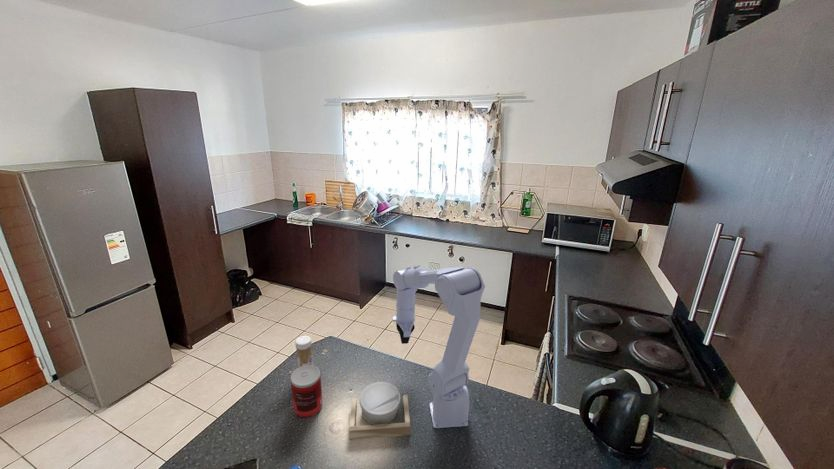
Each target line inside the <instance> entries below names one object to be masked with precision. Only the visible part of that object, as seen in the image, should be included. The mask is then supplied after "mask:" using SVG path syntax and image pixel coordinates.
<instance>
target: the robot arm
mask: <svg viewBox="0 0 834 469" xmlns="http://www.w3.org/2000/svg"><path fill="white" fill-rule="evenodd" d="M392 280H393V285H394V287H395V288H396V307H395V308H396V309H395V310H396V312H395V314H396V315H394V316H392V322H393V323H394V322H395V324H396V330H397V332H398V333H399V337H400V342H401V344H402V345H403V344H405V345H407V344H409V341H410V338H411V335H412V333H413V332H414V330H415V329H416V328H415V322H416V317H415V315H416V310H415V309H416V308H415V307H416V292H417V291H418V289H426V288H427V287H428V286H429V285H430V284H431V285H432V284H433V285H434V289H435V291H436V292H437V295H438V296H439V298H440V300H441V302H442V304H443V305H444V307H445V308H446V311H447V313H448V314H449V315H451V316H453V317H454V318H453V321H452V326H451V328H450V331H449V334H448V340H447V342H446V346H445V349H444V352H443V356H442V360H441V361H440V362H438V363H437V364H436V365H435V366H434V367H433V369H432V371H431V372H430V373H429V374H428V376H427V383H428V388H429V390H430V392H431V393H432V395H433V401H432V402H429V410H430V417H431V422H432V426H433V428H434V429H443V428H457V427H469V422H468V421H469V412H470V393H469V390H468V387H467V385H468V383H469V379H470V377H469V371H470V366H469V365H468V363H467V362H466V361H467V357H468V354H469V352H470V348H471V345H472V343H473V340H474V337H475V334H476V331H477V329H478V326H479V322H480V319H481V309H482V308H481V307H482V306H481V304H482V303H481V302H482V297H483V294H484V291H485V288H486V286H485V283H484V280H483V278H482V276H481V273H480V272H479V270H478V269H477V268H475V267H472V266H470V267H464V266H458V267H456V266H455V267H454V266H453V267H445V268H444V267H443V268H439V269H433V270H428V268H426V267H423V266H422V267H421V265H415V266H413V267H411V266H409V267H405V269H400V270H396V271H394V272H393V275H392Z"/></svg>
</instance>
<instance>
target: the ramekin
mask: <svg viewBox="0 0 834 469" xmlns="http://www.w3.org/2000/svg"><path fill="white" fill-rule="evenodd" d="M400 404H401V394H400V391H399V389H398V387H396V386H395V385H394V384H392V383H389V382H386V381H377V382H372V383H370V384H368V385H367V386H365V387H364V388H363V390H362V391H361V393H360V396H359V405H360V408H361V413H362V415H363V418H364V420H366V422H368V423H370V425H378V424H390V423H392V421H393V420H394V419H395V418H396V416H397V414H398V411H399V407H400Z"/></svg>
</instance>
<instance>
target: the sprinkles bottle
mask: <svg viewBox="0 0 834 469" xmlns="http://www.w3.org/2000/svg"><path fill="white" fill-rule="evenodd" d="M294 342H295V349H296V358H297V360H296V361H297V366H298V367H297V368H299V367H301V366H305V365H313V366H314V359H313V351H312V344H313V343H312V338H311V337H310V336H308V335H301V336H299V337H297V338H296V339H295V341H294Z"/></svg>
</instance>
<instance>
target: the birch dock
mask: <svg viewBox="0 0 834 469" xmlns="http://www.w3.org/2000/svg"><path fill="white" fill-rule="evenodd" d="M402 407H403V408H402V409H403V420H404V422H395V423H392V422H391V423H387V424H378V425H374V424H370V425H369V424H367V425H356V424H357V409H358V399H357V397H352V398H351V407H350V408H351V409H350V418H349V428H348V429H349V431H348V434H349V435H348V436H349V437H348V438H349V441H352V440H353V441H354V440H365V439H377V438H389V437H391V438H392V437H401V436H402V437H403V436H411V419H410V418H411V417H410V409H409V401H408V394H403V395H402Z"/></svg>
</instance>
